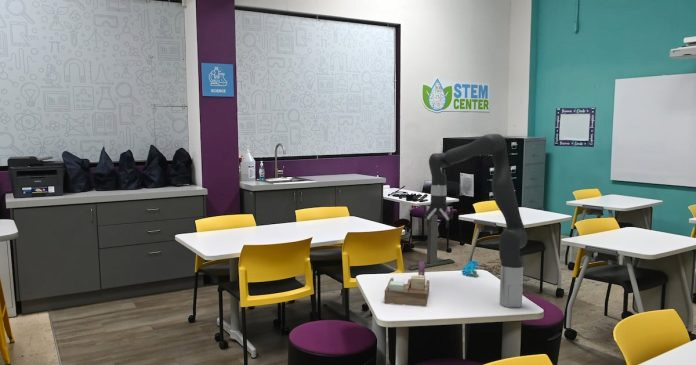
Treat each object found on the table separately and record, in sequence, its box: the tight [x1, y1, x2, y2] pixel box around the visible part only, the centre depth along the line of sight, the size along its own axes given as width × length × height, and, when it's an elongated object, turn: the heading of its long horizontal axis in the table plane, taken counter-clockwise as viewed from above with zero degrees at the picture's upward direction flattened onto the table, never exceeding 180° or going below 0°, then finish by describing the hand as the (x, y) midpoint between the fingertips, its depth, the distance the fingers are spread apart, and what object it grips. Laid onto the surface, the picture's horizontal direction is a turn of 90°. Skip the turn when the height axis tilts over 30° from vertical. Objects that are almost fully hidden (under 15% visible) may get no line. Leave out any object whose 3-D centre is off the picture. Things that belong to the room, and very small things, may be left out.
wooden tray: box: [383, 277, 430, 307], centre depth 243 cm, size 22×18×6 cm
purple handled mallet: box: [410, 260, 426, 290], centre depth 257 cm, size 27×6×9 cm, turn 168°
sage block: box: [389, 280, 406, 291], centre depth 237 cm, size 6×6×5 cm
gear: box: [461, 259, 480, 277], centre depth 284 cm, size 11×6×10 cm
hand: (437, 227), depth 264 cm, fingers open, 8 cm apart
